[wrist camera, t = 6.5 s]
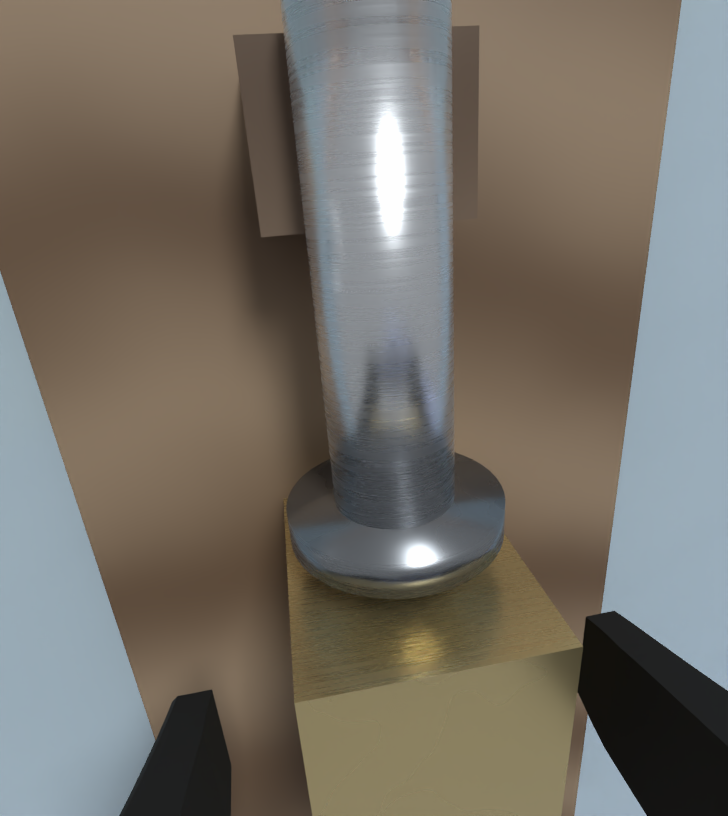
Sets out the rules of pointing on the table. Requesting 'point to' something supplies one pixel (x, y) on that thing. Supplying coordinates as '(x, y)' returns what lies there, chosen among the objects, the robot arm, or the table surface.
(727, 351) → the table surface
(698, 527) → the table surface
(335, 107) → the shafts
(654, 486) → the table surface
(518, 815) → the wooden block
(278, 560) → the shaft bench
